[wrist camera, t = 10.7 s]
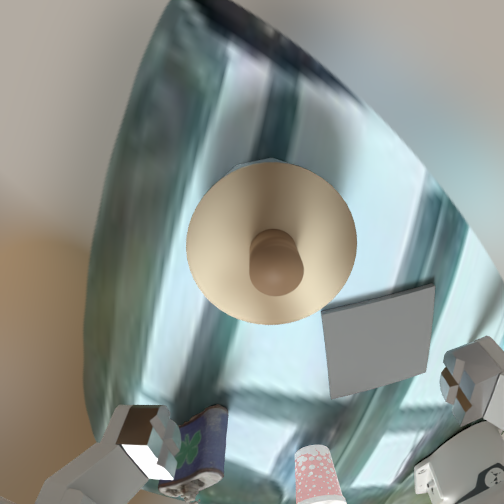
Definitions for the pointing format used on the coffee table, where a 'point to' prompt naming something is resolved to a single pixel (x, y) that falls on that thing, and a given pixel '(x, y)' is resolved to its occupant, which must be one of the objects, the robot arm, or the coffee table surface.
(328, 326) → the mat
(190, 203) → the coffee table surface
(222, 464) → the flask
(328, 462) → the beverage cup
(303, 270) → the lid
